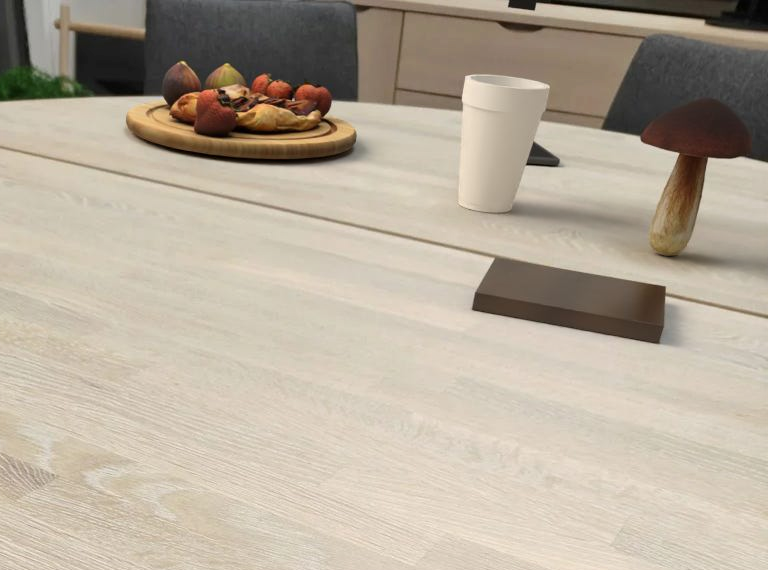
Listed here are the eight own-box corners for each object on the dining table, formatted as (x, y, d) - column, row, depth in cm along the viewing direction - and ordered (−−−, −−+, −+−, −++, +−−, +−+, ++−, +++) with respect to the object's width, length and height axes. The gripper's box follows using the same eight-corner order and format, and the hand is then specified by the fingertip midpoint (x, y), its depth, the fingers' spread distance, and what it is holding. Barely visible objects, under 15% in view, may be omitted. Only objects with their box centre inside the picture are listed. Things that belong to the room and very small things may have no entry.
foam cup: (505, 221, 113) (531, 92, 105) (432, 204, 116) (452, 78, 109) (534, 206, 120) (561, 84, 112) (464, 191, 123) (485, 72, 115)
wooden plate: (282, 177, 122) (287, 101, 117) (77, 132, 133) (74, 61, 128) (392, 143, 144) (401, 78, 140) (209, 107, 156) (211, 46, 151)
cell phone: (531, 145, 151) (532, 139, 151) (560, 165, 140) (562, 160, 140) (485, 142, 150) (486, 136, 150) (510, 162, 139) (511, 156, 139)
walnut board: (661, 302, 93) (666, 286, 92) (658, 343, 84) (664, 325, 83) (492, 273, 96) (495, 257, 95) (471, 309, 87) (474, 292, 86)
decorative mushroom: (671, 274, 101) (722, 109, 92) (591, 244, 108) (630, 88, 99) (738, 264, 106) (791, 107, 97) (657, 236, 113) (700, 87, 104)
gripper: (556, -246, 104) (511, -6, 117) (525, -285, 85) (475, 7, 98) (629, -241, 103) (575, 2, 115) (613, -279, 83) (551, 17, 96)
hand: (529, 5), depth 107 cm, fingers open, 13 cm apart
